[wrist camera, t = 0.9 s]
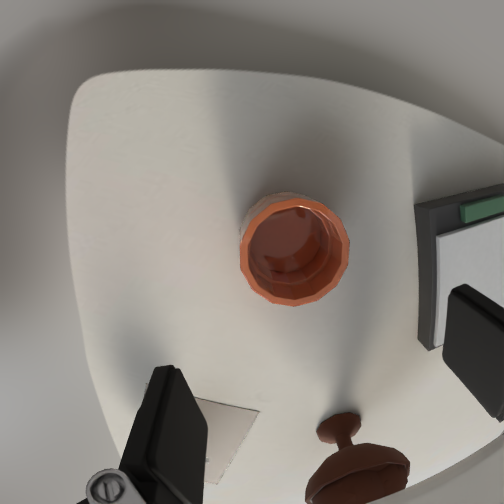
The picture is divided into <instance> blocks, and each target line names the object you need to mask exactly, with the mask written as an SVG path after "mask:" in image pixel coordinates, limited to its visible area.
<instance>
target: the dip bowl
mask: <svg viewBox="0 0 504 504" xmlns="http://www.w3.org/2000/svg"><path fill="white" fill-rule="evenodd" d="M349 244H350V242H349V238H348V236H347V233H346V231H345V228H344V226H343V223H342V221H341V219H340V218H339V217H338V216H336V215H335V214H334V213H333V212H332V211H331V210H329V209H328V208H327V207H326V206H325V205H324V204H322V203H320V202H318V201H316V200H314V199H312V198H310V197H308V196H306V195H302V194H298V193H293V192H289V191H284V192H280V193H275V194H271V195H267V196H266V197H263V198H262V199H261V200H260V201H258V202H257V203H256V204H255V205H253V206H252V207H251V208H250V209H249V210H248V212H247V214H246V216H245V218H244V220H243V223H242V225H241V227H240V268H241V271H242V273H243V275H244V276H245V278H246V280H247V282H248V284H249V285H250V287H251V289H252V290H253V291H255V292H256V293H257V294H259V295H260V296H262V297H263V298H265V299H266V300H268V301H269V302H271V303H274V304H281V305H287V306H293V307H294V306H299V305H303V304H307V303H310V302H314V301H317V300H319V299H320V298H322V297H323V296H324V295H325V294H327V293H328V292H329V291H331V290H332V289H333V288H334V287H336V286H337V284H338V282H339V280H340V279H341V277H342V275H343V273H344V271H345V269H346V268H347V266H348V257H349Z"/></svg>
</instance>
